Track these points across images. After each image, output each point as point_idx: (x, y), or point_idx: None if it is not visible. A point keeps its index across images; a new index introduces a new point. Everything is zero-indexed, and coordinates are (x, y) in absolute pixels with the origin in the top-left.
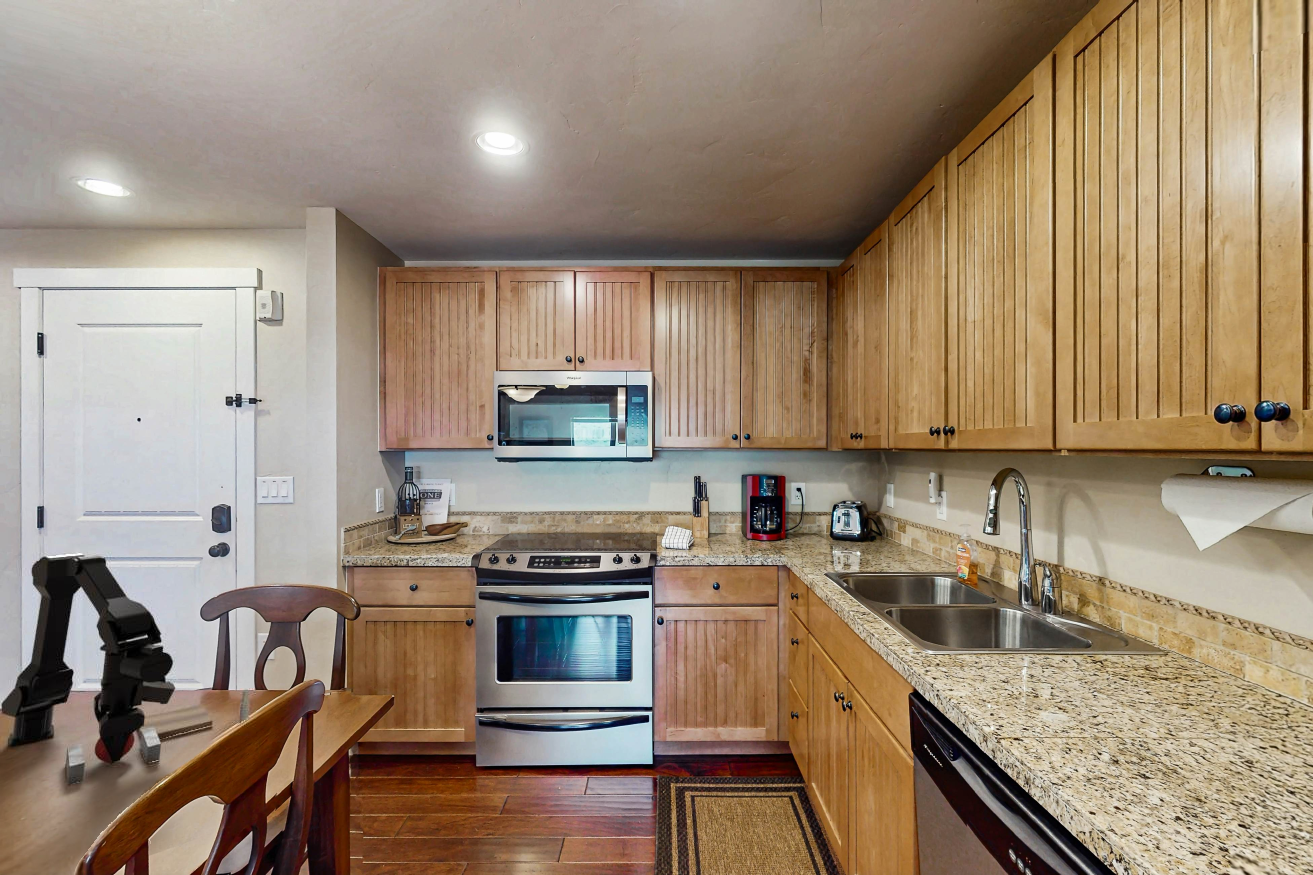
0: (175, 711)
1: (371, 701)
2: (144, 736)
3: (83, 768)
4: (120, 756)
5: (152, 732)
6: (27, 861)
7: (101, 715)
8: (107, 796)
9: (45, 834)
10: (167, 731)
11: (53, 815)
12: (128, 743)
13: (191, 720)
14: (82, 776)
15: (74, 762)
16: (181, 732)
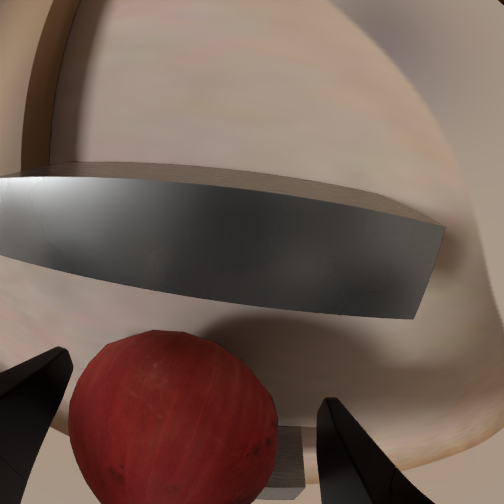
0: None
1: None
2: (120, 280)
3: (303, 468)
4: (347, 415)
5: (69, 204)
6: (499, 430)
7: (8, 498)
8: (467, 380)
9: (470, 434)
10: (28, 91)
11: (427, 443)
12: (261, 418)
13: (12, 6)
14: (300, 443)
15: (269, 495)
16: (61, 31)
